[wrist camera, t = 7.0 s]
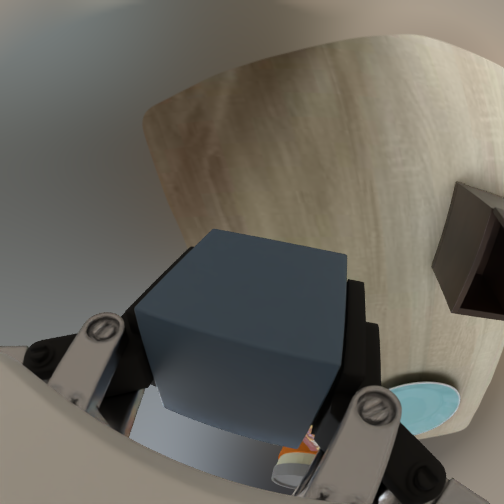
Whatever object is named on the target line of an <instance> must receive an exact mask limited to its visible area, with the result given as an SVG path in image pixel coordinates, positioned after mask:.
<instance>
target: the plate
mask: <svg viewBox="0 0 504 504" xmlns="http://www.w3.org/2000/svg"><path fill="white" fill-rule="evenodd" d="M388 390H390V391H392V392H393V393H394V394H395V395H396V396H397V398H398V399H399V401H400V403H401V407H402V416H401V420H400V422H401V423H402V424H403V425H404V426H405V427H406V428H407V429H408V430H409V431H410V432H411V433H412V434H413V435H417V434H421V433H424V432H427V431H429V430H432V429H434V428H436V427H438V426H439V425H441V424H443V423H444V422H446V421H447V420H448V419H449V418H450V417H451V416H452V415H453V414H454V413H455V412H456V410H457V408H458V406H459V404H460V394H459V392H458V390H457V389H455V388H454V387H453V386H451V385H448V384H444V383H439V382H413V383H407V384H402V385H398V386H395V387H392V388H389V389H388Z"/></svg>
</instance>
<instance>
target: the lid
mask: <svg viewBox="0 0 504 504" xmlns="http://www.w3.org/2000/svg"><path fill="white" fill-rule="evenodd" d="M493 213H494V215H495V216H496V217H497V219H498V220H499V222H500V223H501V225H502V226H503V228H504V210H503V209H500V208H497V207H494V210H493Z"/></svg>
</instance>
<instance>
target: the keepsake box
mask: <svg viewBox="0 0 504 504" xmlns="http://www.w3.org/2000/svg"><path fill="white" fill-rule="evenodd" d="M494 207H497V208H500V209H503V210H504V198H503V197H500V196H498V195H495V194H492V193H489V192H487V191H484V190H481V189H478V188H475V187H472V186H469V185H466V184H463V183H459V182H456V184H455V189H454V193H453V197H452V201H451V205H450V209H449V213H448V216H447V220H446V223H445V227H444V230H443V234H442V237H441V240H440V243H439V246H438V249H437V252H436V255H435V258H434V261H433V264H432V269H433V271H434V273H435V275H436V278H437V280H438V282H439V284H440V287H441V289H442V291H443V294H444V296H445V299H446V301H447V304H448V306H449V309H450V311H451V313H455V314H461V315H468V316H475V317H481V318H488V319H495V320H502V321H503V320H504V228H503V226H502V225H501V223H500V222H499V220H498V219H497V217H496V216H495V215H494V213H493V210H494Z"/></svg>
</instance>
